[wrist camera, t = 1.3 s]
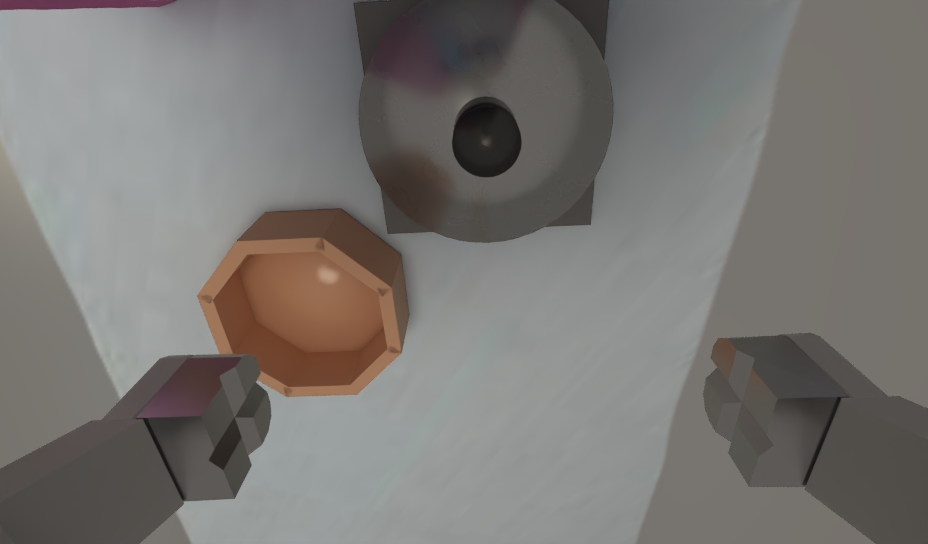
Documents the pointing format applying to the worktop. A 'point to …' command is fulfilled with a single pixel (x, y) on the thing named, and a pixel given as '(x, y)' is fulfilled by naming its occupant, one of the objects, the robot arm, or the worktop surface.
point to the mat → (378, 17)
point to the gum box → (78, 4)
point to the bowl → (309, 302)
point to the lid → (485, 115)
